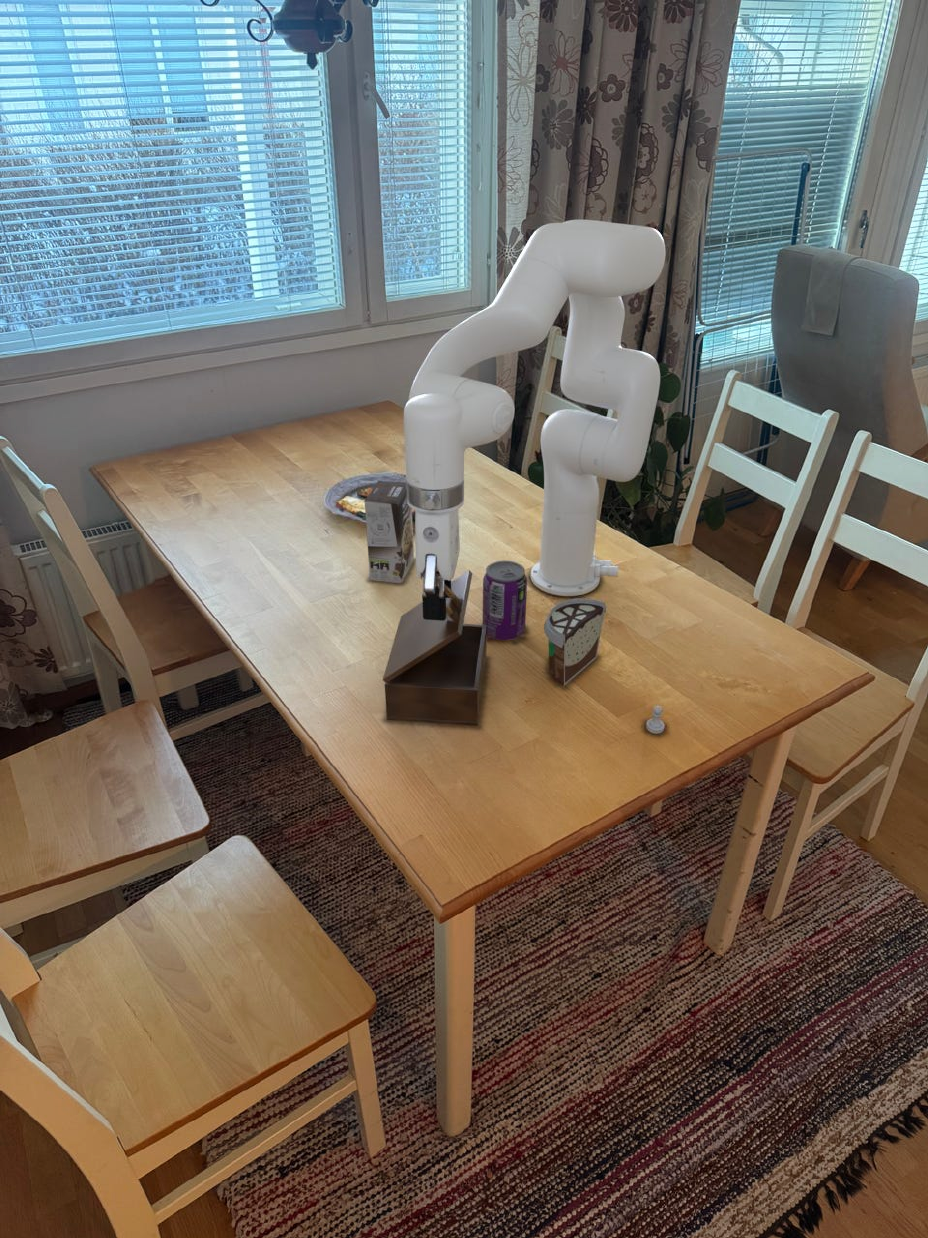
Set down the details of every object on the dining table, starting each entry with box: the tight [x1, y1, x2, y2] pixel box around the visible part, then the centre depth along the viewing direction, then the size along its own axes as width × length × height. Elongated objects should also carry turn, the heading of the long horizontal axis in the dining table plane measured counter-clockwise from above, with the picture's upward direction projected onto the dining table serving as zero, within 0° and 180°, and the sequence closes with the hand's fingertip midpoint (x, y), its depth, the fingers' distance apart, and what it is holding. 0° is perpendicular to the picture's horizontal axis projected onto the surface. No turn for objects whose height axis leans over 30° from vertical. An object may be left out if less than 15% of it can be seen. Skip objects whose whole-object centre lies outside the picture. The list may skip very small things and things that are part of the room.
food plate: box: [323, 471, 415, 524], centre depth 180 cm, size 25×23×4 cm
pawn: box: [645, 705, 666, 735], centre depth 121 cm, size 3×3×4 cm
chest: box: [383, 623, 488, 727], centre depth 128 cm, size 13×16×7 cm
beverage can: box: [481, 560, 528, 641], centre depth 139 cm, size 7×7×12 cm
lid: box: [382, 569, 473, 684], centre depth 122 cm, size 14×16×6 cm
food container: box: [543, 598, 607, 687], centre depth 132 cm, size 12×6×10 cm, turn 141°
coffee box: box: [365, 481, 415, 584], centre depth 154 cm, size 9×6×16 cm
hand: (437, 606), depth 121 cm, fingers closed on lid, 5 cm apart
